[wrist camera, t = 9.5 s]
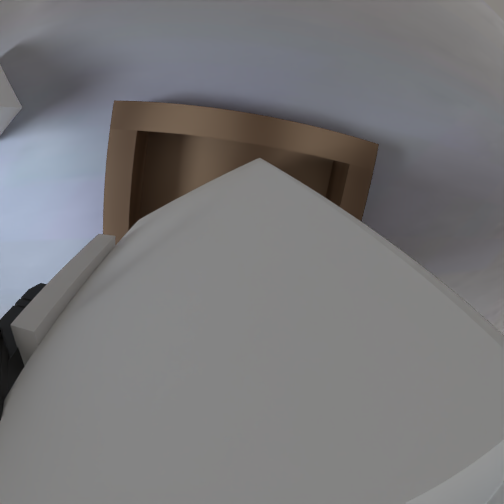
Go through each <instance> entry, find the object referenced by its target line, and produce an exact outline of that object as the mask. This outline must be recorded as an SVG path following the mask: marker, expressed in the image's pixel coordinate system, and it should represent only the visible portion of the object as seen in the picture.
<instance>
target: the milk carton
mask: <svg viewBox="0 0 504 504" xmlns="http://www.w3.org/2000/svg"><path fill="white" fill-rule="evenodd" d="M0 504H504V335H503V334H502V333H501V332H500V331H499V330H497V329H496V328H495V327H494V326H493V325H492V324H491V323H490V322H489V321H488V320H486V319H485V318H484V317H483V316H482V315H481V314H480V313H479V312H477V311H476V310H475V309H474V308H473V307H472V306H470V305H469V304H468V303H467V302H466V301H465V300H463V299H462V298H461V297H460V296H459V295H457V294H456V293H455V292H454V291H453V290H451V289H450V288H449V287H448V286H447V285H445V284H444V283H443V282H442V281H440V280H439V279H438V278H437V277H435V276H434V275H433V274H432V273H430V272H429V271H428V270H426V269H425V268H424V267H423V266H421V265H420V264H419V263H417V262H416V261H415V260H414V259H412V258H411V257H410V256H408V255H407V254H406V253H404V252H403V251H402V250H400V249H399V248H397V247H396V246H395V245H393V244H392V243H391V242H389V241H388V240H387V239H385V238H384V237H382V236H381V235H380V234H378V233H377V232H375V231H374V230H373V229H371V228H370V227H368V226H367V225H365V224H364V223H362V222H361V221H360V220H358V219H357V218H355V217H354V216H352V215H351V214H349V213H348V212H346V211H345V210H343V209H342V208H340V207H339V206H337V205H336V204H334V203H333V202H331V201H330V200H328V199H327V198H325V197H324V196H322V195H320V194H319V193H317V192H316V191H314V190H313V189H311V188H309V187H308V186H306V185H305V184H303V183H301V182H300V181H298V180H297V179H295V178H293V177H292V176H290V175H288V174H287V173H285V172H283V171H282V170H280V169H278V168H277V167H275V166H273V165H272V164H270V163H268V162H267V161H265V160H263V159H261V158H258V159H255V160H253V161H251V162H249V163H247V164H245V165H243V166H241V167H238V168H236V169H234V170H232V171H230V172H228V173H226V174H224V175H222V176H220V177H218V178H216V179H214V180H212V181H210V182H208V183H206V184H204V185H202V186H200V187H198V188H196V189H194V190H192V191H191V192H189V193H187V194H185V195H183V196H181V197H179V198H177V199H175V200H174V201H172V202H170V203H168V204H166V205H164V206H163V207H161V208H159V209H157V210H155V211H153V212H152V213H150V214H148V215H146V216H145V217H143V218H141V219H139V220H138V221H137V222H136V223H135V224H134V225H133V227H132V228H131V229H130V230H129V231H128V232H127V233H126V234H125V235H124V237H123V238H122V239H121V240H120V241H119V242H118V243H117V245H116V246H115V247H114V248H113V249H112V250H111V252H110V253H109V254H108V255H107V256H106V257H105V259H104V260H103V261H102V262H101V263H100V265H99V266H98V267H97V268H96V269H95V271H94V272H93V273H92V274H91V276H90V277H89V278H88V279H87V281H86V282H85V283H84V284H83V286H82V287H81V288H80V289H79V291H78V292H77V293H76V295H75V296H74V297H73V298H72V300H71V301H70V302H69V304H68V305H67V306H66V308H65V309H64V310H63V312H62V313H61V314H60V316H59V317H58V319H57V320H56V321H55V323H54V324H53V325H52V327H51V328H50V330H49V331H48V333H47V334H46V335H45V337H44V338H43V340H42V341H41V343H40V344H39V346H38V347H37V348H36V350H35V351H34V353H33V354H32V356H31V357H30V359H29V360H28V362H27V364H26V365H25V367H24V368H23V370H22V371H21V373H20V375H19V376H18V378H17V379H16V381H15V383H14V384H13V386H12V388H11V389H10V391H9V393H8V395H7V396H6V398H5V400H4V406H3V411H2V417H1V421H0Z"/></svg>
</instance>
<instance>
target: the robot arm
mask: <svg viewBox="0 0 504 504" xmlns="http://www.w3.org/2000/svg"><path fill="white" fill-rule="evenodd" d="M114 247H115V236H112V235H104V234H98V235H97V236H96V237H95V238H94V239H93V240H91V241H90V242H89V243H88V244H87V245H86V246H85V247H84V248H83V249H82V250H81V251H80V252H79V253H78V254H77V255H76V256H75V257H73V258H72V259H71V260H70V261H69V262H68V263H67V264H66V265H65V266H64V267H63V268H62V269H61V270H60V271H59V272H58V273H57V274H56V275H55V276H54V277H53V278H52V279H51V280H50V282H49V283H48V284H42V283H40V284H38V285H36V286H34V287H32V288H31V289H29V290H28V291H27V292H26V293H25V294H24V295H23V296H22V297H21V299H19V300H18V301H17V302H16V303H15V306H12V308H11V309H10V310H9V311H8V312H7V313H6V314H5V315H4V316H3V317H2V318H1V320H0V421H1V417H2V411H3V406H4V400H5V398H6V396H7V395H8V393H9V391H10V389H11V388H12V386H13V384H14V383H15V381H16V379H17V378H18V376H19V375H20V373H21V371H22V370H23V368H24V367H25V365H26V364H27V362H28V360H29V359H30V357H31V356H32V354H33V353H34V351H35V350H36V348H37V347H38V346H39V344H40V343H41V341H42V340H43V338H44V337H45V335H46V334H47V333H48V331H49V330H50V328H51V327H52V325H53V324H54V323H55V321H56V320H57V319H58V317H59V316H60V314H61V313H62V312H63V310H64V309H65V308H66V306H67V305H68V304H69V302H70V301H71V300H72V298H73V297H74V296H75V295H76V293H77V292H78V291H79V289H80V288H81V287H82V286H83V284H84V283H85V282H86V281H87V279H88V278H89V277H90V276H91V274H92V273H93V272H94V271H95V269H96V268H97V267H98V266H99V265H100V263H101V262H102V261H103V260H104V259H105V257H106V256H107V255H108V254H109V253H110V252H111V250H112V249H113V248H114Z"/></svg>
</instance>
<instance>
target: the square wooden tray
mask: <svg viewBox="0 0 504 504" xmlns="http://www.w3.org/2000/svg"><path fill="white" fill-rule="evenodd" d="M378 146H379V144H376V143H373V142H370V141H367V140H363V139H360V138H356V137H353V136H349V135H346V134H342V133H339V132H335V131H331V130H327V129H323V128H319V127H315V126H311V125H306V124H302V123H298V122H293V121H288V120H284V119H279V118H274V117H268V116H263V115H257V114H252V113H246V112H239V111H233V110H226V109H219V108H211V107H203V106H194V105H184V104H173V103H159V102H142V101H114V105H113V111H112V118H111V125H110V133H109V141H108V151H107V161H106V173H105V188H104V210H103V234H104V235H112V236H115V246H116V245H117V243H118V242H119V241H120V240H121V239H122V238H123V237H124V235H125V234H126V233H127V232H128V231H129V230H130V229H131V228H132V227H133V225H134V224H135V223H136V222H137V221H138V220H139V219H141V218H143V217H145V216H146V215H148V214H150V213H152V212H153V211H155V210H157V209H159V208H161V207H163V206H164V205H166V204H168V203H170V202H172V201H174V200H175V199H177V198H179V197H181V196H183V195H185V194H187V193H189V192H191V191H192V190H194V189H196V188H198V187H200V186H202V185H204V184H206V183H208V182H210V181H212V180H214V179H216V178H218V177H220V176H222V175H224V174H226V173H228V172H230V171H232V170H234V169H236V168H238V167H241V166H243V165H245V164H247V163H249V162H251V161H253V160H255V159H258V158H261V159H263V160H265V161H267V162H268V163H270V164H272V165H273V166H275V167H277V168H278V169H280V170H282V171H283V172H285V173H287V174H288V175H290V176H292V177H293V178H295V179H297V180H298V181H300V182H301V183H303V184H305V185H306V186H308V187H309V188H311V189H313V190H314V191H316V192H317V193H319V194H320V195H322V196H324V197H325V198H327V199H328V200H330V201H331V202H333V203H334V204H336V205H337V206H339V207H340V208H342V209H343V210H345V211H346V212H348V213H349V214H351V215H352V216H354V217H355V218H357V219H358V220H360V221H361V220H362V216H363V212H364V209H365V205H366V200H367V196H368V192H369V188H370V184H371V179H372V175H373V170H374V166H375V161H376V156H377V151H378Z"/></svg>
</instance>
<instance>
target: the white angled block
mask: <svg viewBox="0 0 504 504" xmlns="http://www.w3.org/2000/svg"><path fill="white" fill-rule="evenodd" d="M21 109H22V106H21V104H20V102H19V100H18V98H17V97H16V95H15V93H14V91H13V89H12V87H11V85H10V83H9V81H8V79H7V77H6V75H5V73H4V71H3V69H2V67H1V65H0V135H1V134H2V133H3V131H4V130H5V129H6V128H7V126H8V125H9V124H10V122H11V121H12V120H13V119H14V117H15V116H16V115H17V114H18V112H19V111H20V110H21Z"/></svg>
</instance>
